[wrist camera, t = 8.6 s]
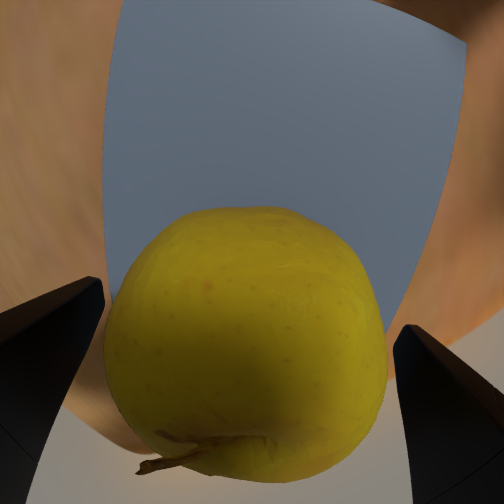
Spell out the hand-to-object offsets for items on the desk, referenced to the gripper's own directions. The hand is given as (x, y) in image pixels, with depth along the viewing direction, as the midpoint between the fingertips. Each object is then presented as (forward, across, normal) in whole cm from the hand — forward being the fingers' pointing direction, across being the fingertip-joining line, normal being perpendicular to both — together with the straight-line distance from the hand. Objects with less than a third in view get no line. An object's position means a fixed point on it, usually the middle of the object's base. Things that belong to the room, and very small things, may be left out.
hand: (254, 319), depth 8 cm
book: (+6, 0, 0) cm, 6 cm away
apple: (+3, 0, 0) cm, 3 cm away
